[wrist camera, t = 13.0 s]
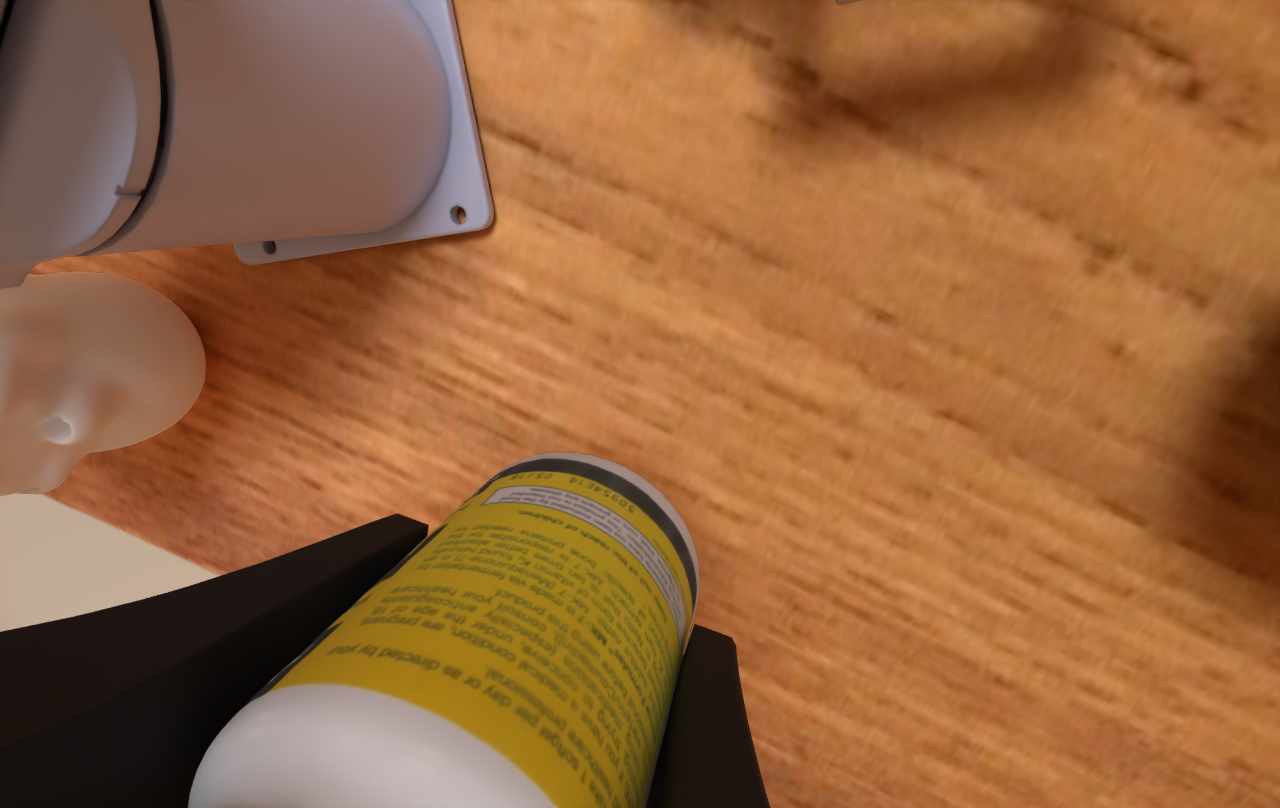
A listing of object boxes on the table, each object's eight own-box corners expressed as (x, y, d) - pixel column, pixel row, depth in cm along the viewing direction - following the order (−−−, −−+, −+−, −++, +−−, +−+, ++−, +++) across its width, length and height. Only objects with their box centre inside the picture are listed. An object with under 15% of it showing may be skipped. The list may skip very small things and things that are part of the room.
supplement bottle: (485, 415, 11) (-196, 887, 4) (730, 486, 10) (546, 1287, 3) (464, 615, 13) (-25, 1226, 5) (673, 688, 12) (461, 1529, 4)
